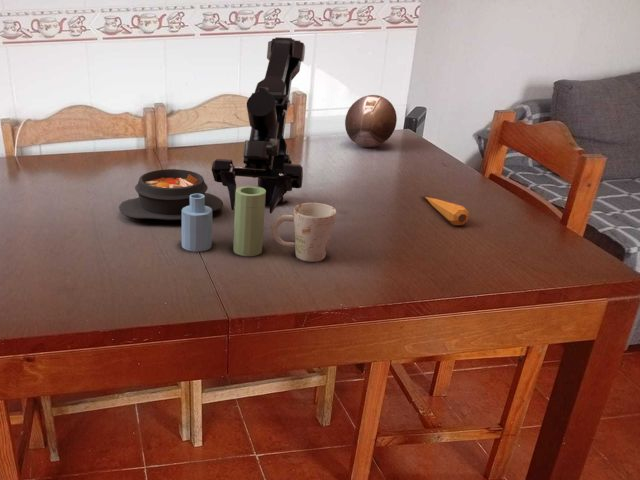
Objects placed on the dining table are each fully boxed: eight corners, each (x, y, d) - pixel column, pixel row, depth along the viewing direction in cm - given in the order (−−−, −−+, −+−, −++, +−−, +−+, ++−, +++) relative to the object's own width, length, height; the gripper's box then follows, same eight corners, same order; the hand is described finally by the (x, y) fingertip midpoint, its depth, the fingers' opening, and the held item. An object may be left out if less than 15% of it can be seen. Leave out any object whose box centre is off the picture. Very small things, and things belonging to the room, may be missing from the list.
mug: (330, 265, 140) (336, 218, 135) (267, 261, 142) (270, 214, 137) (331, 249, 147) (336, 204, 142) (271, 245, 149) (274, 200, 144)
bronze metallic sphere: (343, 152, 209) (349, 100, 201) (341, 139, 221) (347, 89, 214) (394, 154, 207) (403, 101, 199) (390, 140, 219) (397, 91, 211)
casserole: (208, 195, 176) (209, 162, 172) (234, 220, 161) (236, 185, 157) (111, 205, 170) (110, 171, 166) (129, 232, 155) (127, 196, 151)
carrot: (465, 230, 157) (475, 212, 156) (448, 223, 156) (459, 205, 154) (427, 208, 175) (436, 191, 173) (412, 202, 174) (421, 185, 172)
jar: (234, 244, 150) (237, 185, 143) (262, 245, 149) (266, 186, 142) (232, 255, 145) (234, 194, 138) (261, 257, 144) (264, 196, 137)
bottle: (176, 243, 150) (176, 194, 144) (201, 238, 153) (202, 189, 147) (191, 253, 145) (191, 203, 140) (216, 247, 148) (218, 197, 142)
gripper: (214, 119, 142) (201, 189, 139) (306, 124, 138) (295, 197, 135) (220, 147, 153) (209, 213, 149) (306, 153, 149) (296, 220, 145)
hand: (251, 210), depth 145 cm, fingers open, 8 cm apart
